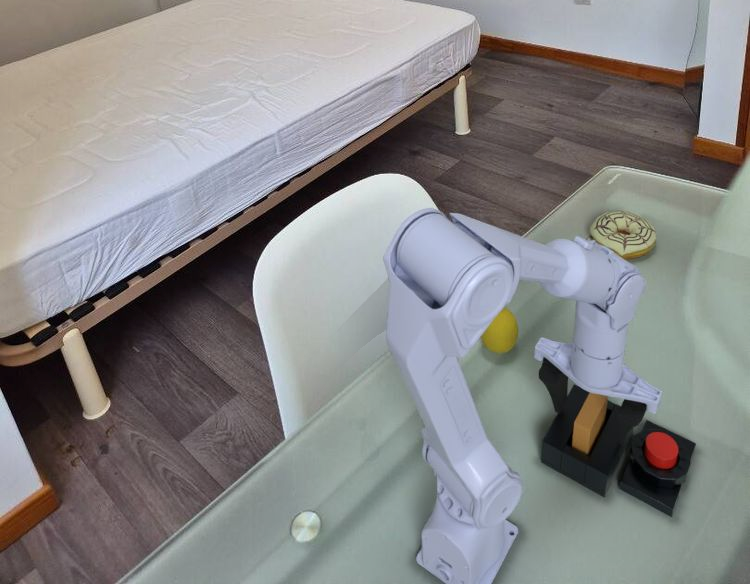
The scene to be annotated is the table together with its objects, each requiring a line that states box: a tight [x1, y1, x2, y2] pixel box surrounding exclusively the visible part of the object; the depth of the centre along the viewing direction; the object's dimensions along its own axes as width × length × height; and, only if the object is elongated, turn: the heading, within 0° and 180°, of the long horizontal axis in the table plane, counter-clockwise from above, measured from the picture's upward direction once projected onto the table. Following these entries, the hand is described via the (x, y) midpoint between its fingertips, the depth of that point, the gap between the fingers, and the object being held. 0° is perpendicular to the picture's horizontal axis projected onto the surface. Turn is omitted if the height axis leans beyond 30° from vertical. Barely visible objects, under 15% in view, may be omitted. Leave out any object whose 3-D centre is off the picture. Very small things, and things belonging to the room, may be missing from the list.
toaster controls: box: [618, 419, 697, 518], centre depth 83 cm, size 10×6×3 cm, turn 143°
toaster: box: [540, 383, 634, 498], centre depth 85 cm, size 10×8×4 cm
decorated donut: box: [589, 210, 657, 260], centre depth 120 cm, size 10×11×4 cm
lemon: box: [480, 306, 519, 354], centre depth 99 cm, size 6×6×8 cm
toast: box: [572, 392, 609, 457], centre depth 85 cm, size 6×2×6 cm, turn 143°
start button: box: [644, 432, 678, 469], centre depth 82 cm, size 4×4×2 cm
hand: (590, 421), depth 84 cm, fingers open, 7 cm apart
